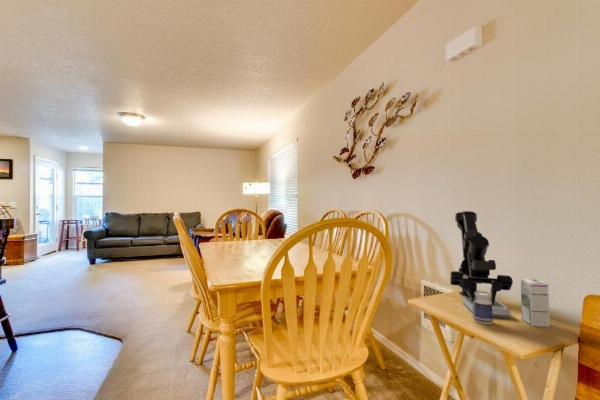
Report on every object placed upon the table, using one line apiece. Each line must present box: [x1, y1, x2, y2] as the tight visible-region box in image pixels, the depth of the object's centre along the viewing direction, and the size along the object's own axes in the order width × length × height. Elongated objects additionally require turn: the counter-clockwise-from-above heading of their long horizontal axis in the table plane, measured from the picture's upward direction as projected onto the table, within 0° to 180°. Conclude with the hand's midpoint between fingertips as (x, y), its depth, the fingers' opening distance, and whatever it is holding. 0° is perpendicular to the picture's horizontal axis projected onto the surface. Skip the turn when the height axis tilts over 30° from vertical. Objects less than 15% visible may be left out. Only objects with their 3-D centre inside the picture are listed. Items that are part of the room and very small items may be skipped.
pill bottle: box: [472, 290, 493, 325], centre depth 99 cm, size 6×6×10 cm
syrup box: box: [520, 278, 551, 328], centre depth 97 cm, size 6×6×14 cm
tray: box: [462, 296, 511, 319], centre depth 108 cm, size 12×11×4 cm
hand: (483, 302), depth 97 cm, fingers closed on pill bottle, 5 cm apart
